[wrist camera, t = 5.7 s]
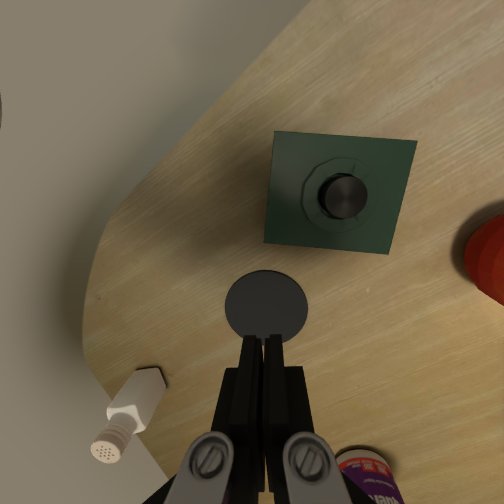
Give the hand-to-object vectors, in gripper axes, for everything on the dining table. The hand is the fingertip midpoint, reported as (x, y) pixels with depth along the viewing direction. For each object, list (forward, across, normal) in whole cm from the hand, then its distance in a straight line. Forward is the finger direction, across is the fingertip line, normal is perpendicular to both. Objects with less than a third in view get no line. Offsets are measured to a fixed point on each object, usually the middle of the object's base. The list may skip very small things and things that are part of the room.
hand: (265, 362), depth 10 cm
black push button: (+12, -6, -6) cm, 15 cm away
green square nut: (+17, -6, -6) cm, 19 cm away
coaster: (+17, +1, +7) cm, 18 cm away
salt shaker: (+17, +18, +17) cm, 30 cm away
